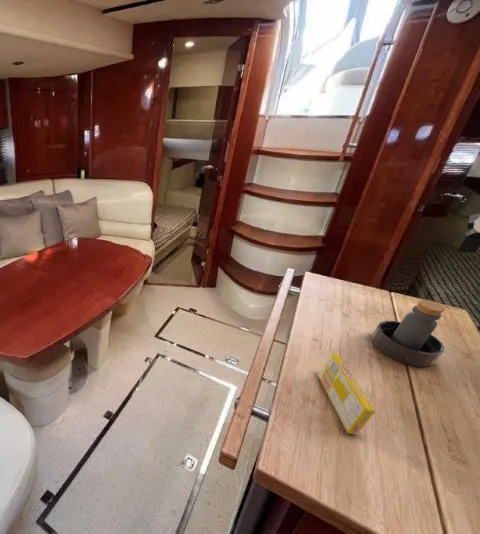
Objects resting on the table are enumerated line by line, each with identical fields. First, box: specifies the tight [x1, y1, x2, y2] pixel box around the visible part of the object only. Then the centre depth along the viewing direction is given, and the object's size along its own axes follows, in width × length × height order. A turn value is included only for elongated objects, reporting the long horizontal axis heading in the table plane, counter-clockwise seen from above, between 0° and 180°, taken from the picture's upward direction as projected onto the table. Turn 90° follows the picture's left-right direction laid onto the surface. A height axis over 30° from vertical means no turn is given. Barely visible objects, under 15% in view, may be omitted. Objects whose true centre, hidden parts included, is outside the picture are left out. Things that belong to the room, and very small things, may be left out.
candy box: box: [317, 352, 376, 436], centre depth 69 cm, size 16×2×8 cm, turn 165°
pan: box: [370, 320, 445, 367], centre depth 84 cm, size 13×13×5 cm
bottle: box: [391, 299, 445, 351], centre depth 81 cm, size 6×6×15 cm
